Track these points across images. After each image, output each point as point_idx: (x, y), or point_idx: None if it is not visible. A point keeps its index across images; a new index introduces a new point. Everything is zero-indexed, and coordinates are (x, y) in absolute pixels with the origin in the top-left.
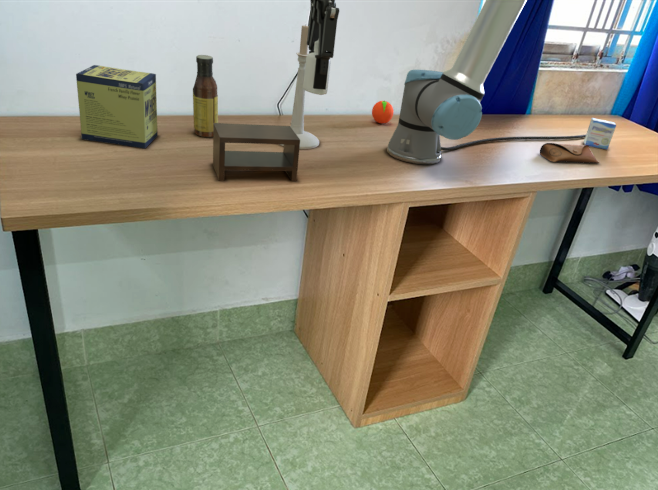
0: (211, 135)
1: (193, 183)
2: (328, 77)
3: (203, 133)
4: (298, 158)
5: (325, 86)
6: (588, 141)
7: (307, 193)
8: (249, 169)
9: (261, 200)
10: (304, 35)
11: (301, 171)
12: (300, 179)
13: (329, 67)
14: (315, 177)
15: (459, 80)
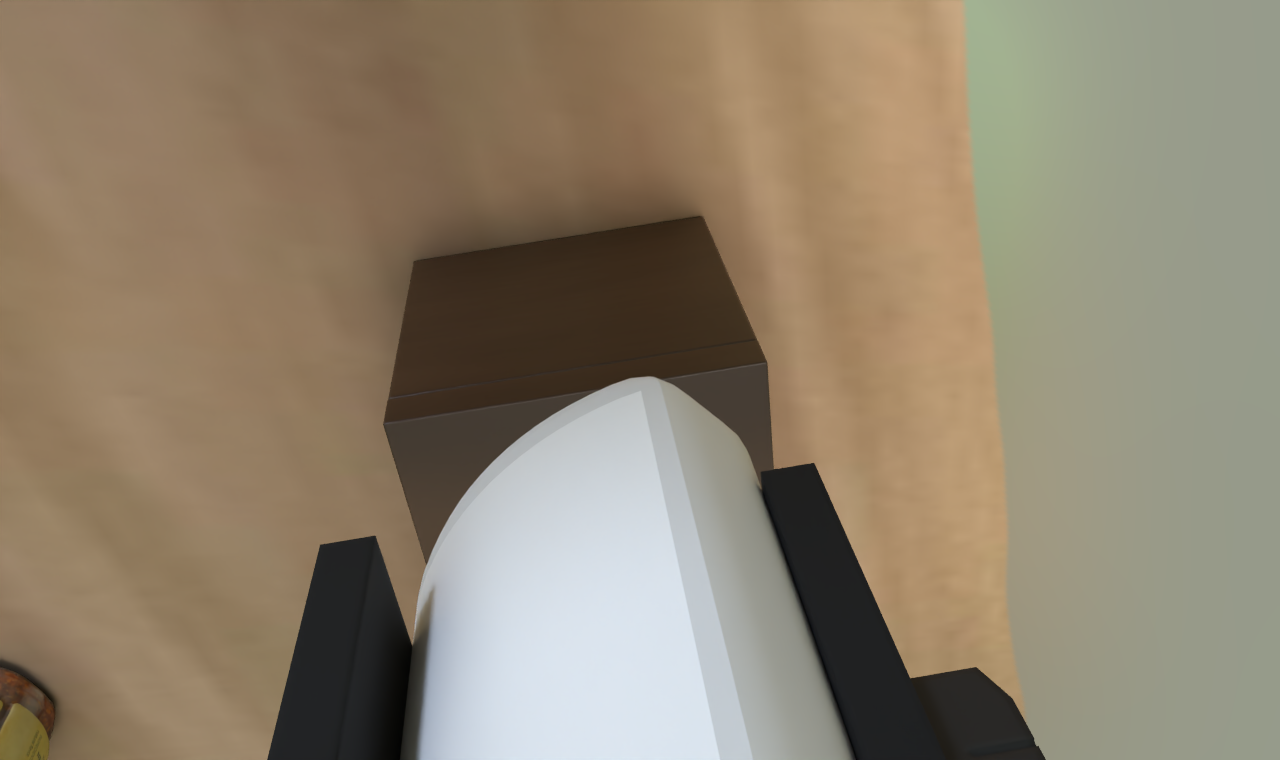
0: (30, 688)
1: None
2: (720, 540)
3: (48, 731)
4: (734, 288)
5: (826, 498)
6: None
7: (902, 160)
8: None
9: (989, 415)
10: None
11: (499, 163)
12: (660, 185)
13: (769, 690)
14: (603, 68)
15: None
